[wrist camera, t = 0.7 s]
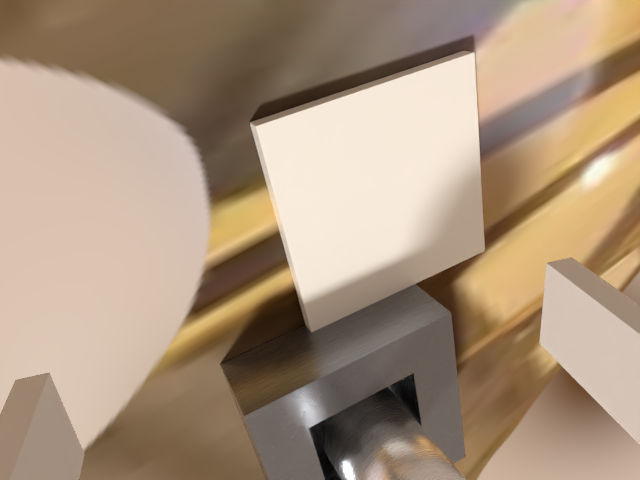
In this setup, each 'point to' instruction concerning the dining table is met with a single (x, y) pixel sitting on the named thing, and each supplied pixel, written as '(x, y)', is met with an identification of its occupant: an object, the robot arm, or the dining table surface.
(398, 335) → the housing
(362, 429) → the flanged shaft
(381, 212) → the pad
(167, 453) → the dining table surface
